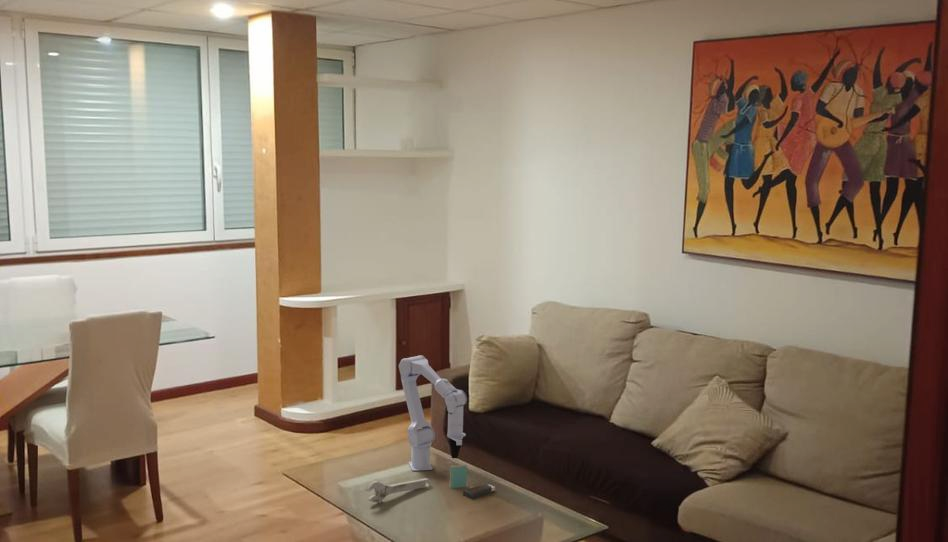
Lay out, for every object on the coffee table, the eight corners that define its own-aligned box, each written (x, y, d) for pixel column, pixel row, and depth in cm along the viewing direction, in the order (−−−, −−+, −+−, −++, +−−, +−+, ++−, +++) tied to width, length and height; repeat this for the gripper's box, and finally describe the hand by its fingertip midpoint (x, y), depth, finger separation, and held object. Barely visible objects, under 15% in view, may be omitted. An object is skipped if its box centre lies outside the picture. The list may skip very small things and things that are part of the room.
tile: (449, 486, 303) (450, 465, 302) (465, 485, 305) (465, 464, 304) (450, 487, 302) (451, 467, 301) (466, 486, 303) (466, 466, 302)
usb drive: (462, 496, 295) (463, 489, 295) (487, 488, 303) (487, 481, 303) (472, 501, 291) (472, 493, 291) (496, 493, 299) (496, 485, 299)
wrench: (429, 493, 303) (367, 506, 281) (426, 492, 305) (363, 504, 283) (432, 472, 303) (369, 483, 281) (428, 471, 304) (366, 482, 282)
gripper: (470, 428, 301) (469, 463, 303) (461, 416, 315) (460, 450, 317) (451, 429, 299) (450, 464, 301) (443, 417, 313) (442, 451, 315)
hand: (454, 457), depth 309 cm, fingers closed
